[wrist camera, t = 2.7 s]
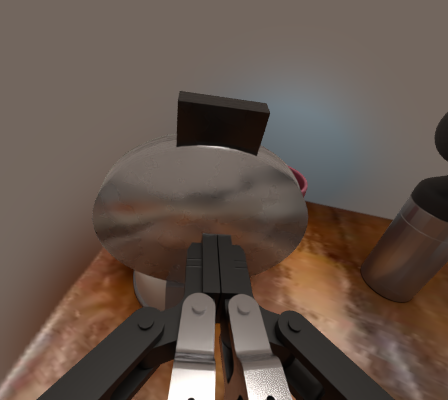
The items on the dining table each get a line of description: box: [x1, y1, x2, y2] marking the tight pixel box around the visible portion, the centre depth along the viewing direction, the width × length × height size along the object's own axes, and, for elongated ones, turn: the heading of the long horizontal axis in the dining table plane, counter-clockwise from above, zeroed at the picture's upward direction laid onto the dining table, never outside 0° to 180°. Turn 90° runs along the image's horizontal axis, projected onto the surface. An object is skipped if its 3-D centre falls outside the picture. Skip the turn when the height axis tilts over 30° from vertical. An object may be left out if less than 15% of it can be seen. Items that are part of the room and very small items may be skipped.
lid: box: [93, 91, 308, 283], centre depth 21 cm, size 20×17×2 cm
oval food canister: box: [133, 270, 185, 311], centre depth 38 cm, size 19×23×12 cm
